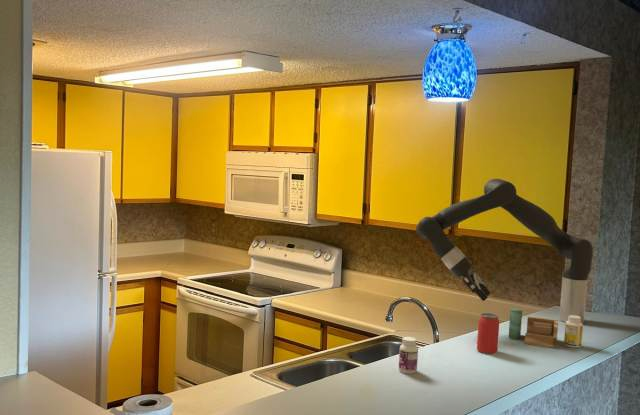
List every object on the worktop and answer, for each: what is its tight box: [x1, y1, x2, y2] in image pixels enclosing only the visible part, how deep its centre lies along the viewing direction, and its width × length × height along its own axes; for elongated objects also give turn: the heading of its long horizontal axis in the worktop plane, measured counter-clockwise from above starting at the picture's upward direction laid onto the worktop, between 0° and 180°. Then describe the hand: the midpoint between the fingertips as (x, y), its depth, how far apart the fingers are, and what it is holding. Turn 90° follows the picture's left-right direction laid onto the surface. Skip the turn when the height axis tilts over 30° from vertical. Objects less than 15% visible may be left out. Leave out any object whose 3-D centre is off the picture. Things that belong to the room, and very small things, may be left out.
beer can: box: [476, 312, 500, 355], centre depth 206 cm, size 7×7×12 cm
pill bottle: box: [398, 336, 419, 375], centre depth 184 cm, size 5×5×10 cm
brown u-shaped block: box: [524, 316, 559, 349], centre depth 220 cm, size 11×10×7 cm
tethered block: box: [508, 308, 552, 341], centre depth 221 cm, size 6×14×10 cm, turn 69°
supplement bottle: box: [563, 315, 584, 349], centre depth 216 cm, size 6×6×10 cm
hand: (487, 297), depth 226 cm, fingers open, 8 cm apart
